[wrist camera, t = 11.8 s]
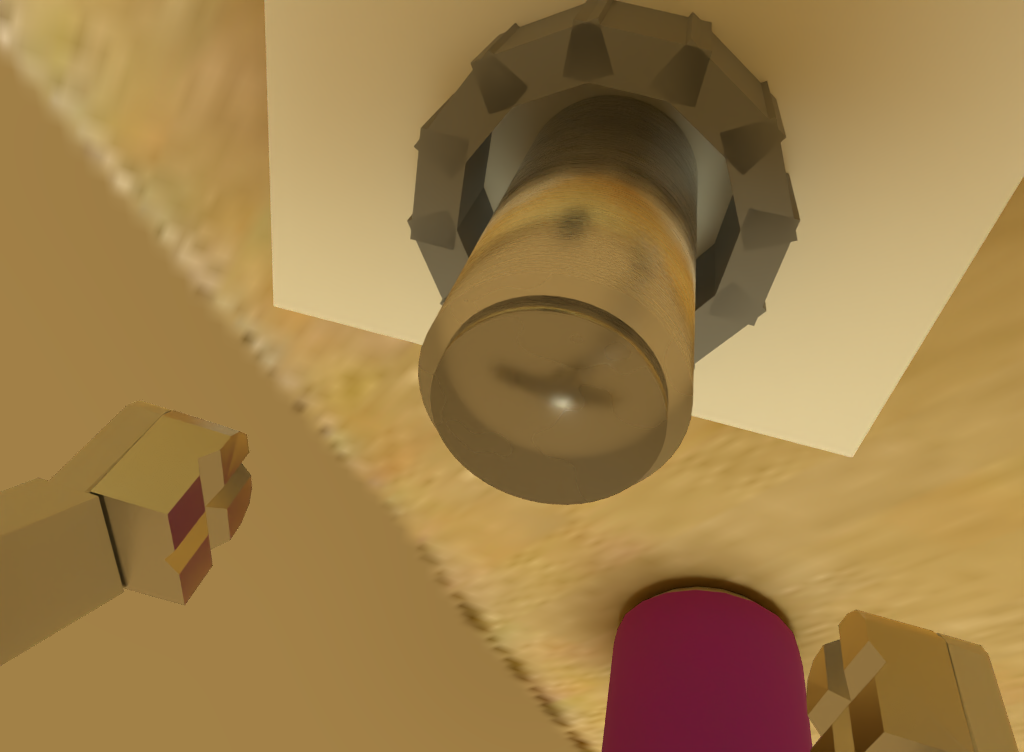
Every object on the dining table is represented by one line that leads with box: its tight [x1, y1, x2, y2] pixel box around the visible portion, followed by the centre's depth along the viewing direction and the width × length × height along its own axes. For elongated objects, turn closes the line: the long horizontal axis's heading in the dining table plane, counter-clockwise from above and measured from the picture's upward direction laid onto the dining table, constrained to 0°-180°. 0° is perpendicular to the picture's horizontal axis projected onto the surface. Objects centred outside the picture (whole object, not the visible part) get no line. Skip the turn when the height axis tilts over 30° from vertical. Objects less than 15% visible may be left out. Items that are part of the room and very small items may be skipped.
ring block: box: [264, 0, 1024, 457], centre depth 20 cm, size 20×14×4 cm
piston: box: [418, 95, 698, 505], centre depth 17 cm, size 5×5×11 cm
